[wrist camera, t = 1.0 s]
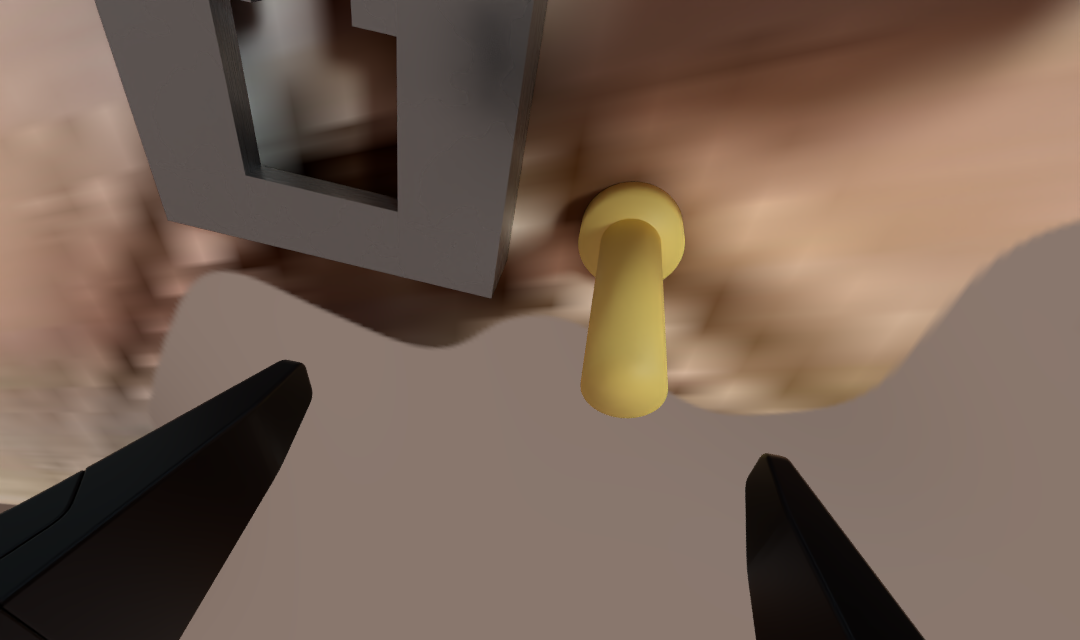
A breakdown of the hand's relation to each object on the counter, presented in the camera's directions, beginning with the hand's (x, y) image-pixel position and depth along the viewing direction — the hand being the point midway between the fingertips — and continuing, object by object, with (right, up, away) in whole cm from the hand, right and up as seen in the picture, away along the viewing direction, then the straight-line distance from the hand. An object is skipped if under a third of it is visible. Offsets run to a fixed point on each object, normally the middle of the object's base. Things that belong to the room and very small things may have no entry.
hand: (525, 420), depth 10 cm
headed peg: (+4, +6, +12) cm, 14 cm away
